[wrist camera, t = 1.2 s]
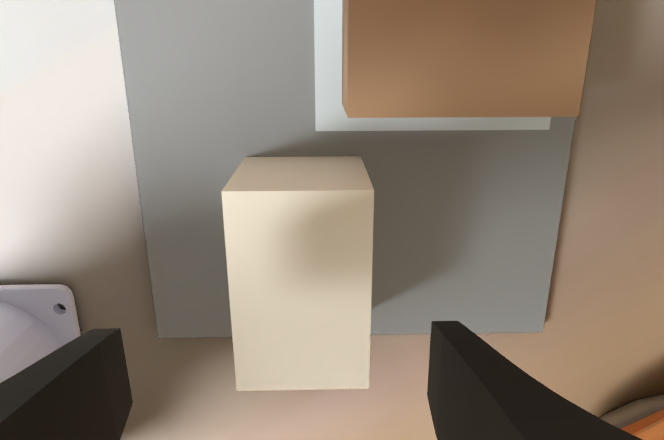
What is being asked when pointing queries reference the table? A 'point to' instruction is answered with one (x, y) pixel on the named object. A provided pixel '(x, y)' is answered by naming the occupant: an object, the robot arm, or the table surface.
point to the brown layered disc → (640, 418)
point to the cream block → (300, 272)
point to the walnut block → (464, 57)
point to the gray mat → (330, 140)
